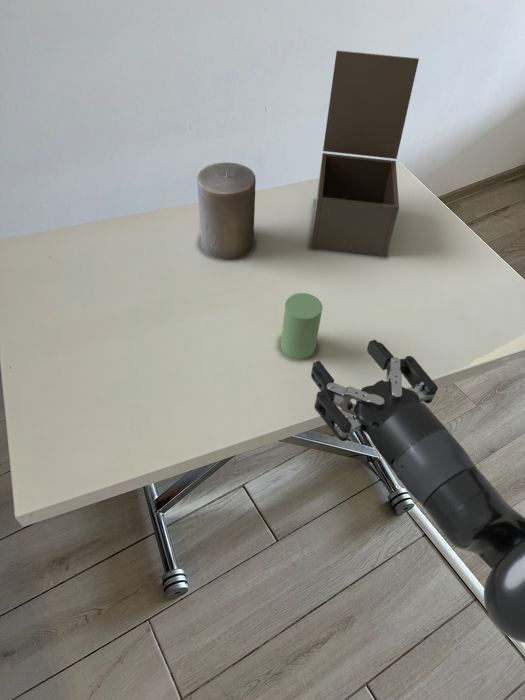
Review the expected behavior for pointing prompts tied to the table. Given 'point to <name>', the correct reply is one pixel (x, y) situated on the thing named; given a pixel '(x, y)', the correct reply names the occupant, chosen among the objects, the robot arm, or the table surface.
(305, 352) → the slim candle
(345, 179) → the brown hinged box
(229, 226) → the pillar candle
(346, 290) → the table surface
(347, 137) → the brown box lid
